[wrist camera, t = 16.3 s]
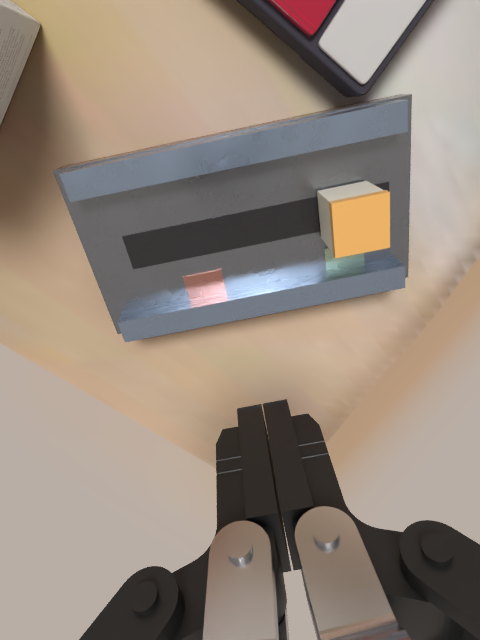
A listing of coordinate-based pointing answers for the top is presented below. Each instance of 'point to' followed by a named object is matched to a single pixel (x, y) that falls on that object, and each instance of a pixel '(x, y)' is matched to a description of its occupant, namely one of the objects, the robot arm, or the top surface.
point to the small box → (13, 48)
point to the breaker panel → (239, 218)
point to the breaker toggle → (354, 218)
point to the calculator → (342, 34)
